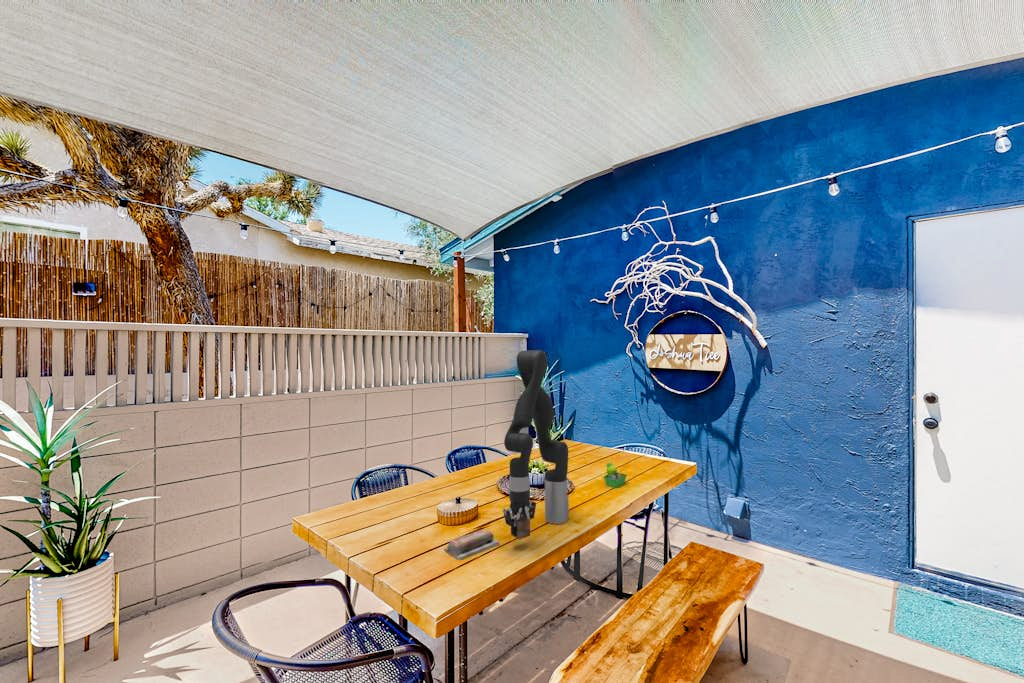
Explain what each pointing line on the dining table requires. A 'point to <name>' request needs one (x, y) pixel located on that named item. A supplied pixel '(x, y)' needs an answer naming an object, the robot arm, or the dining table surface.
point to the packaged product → (471, 544)
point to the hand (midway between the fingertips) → (520, 533)
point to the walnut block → (523, 527)
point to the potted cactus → (614, 476)
